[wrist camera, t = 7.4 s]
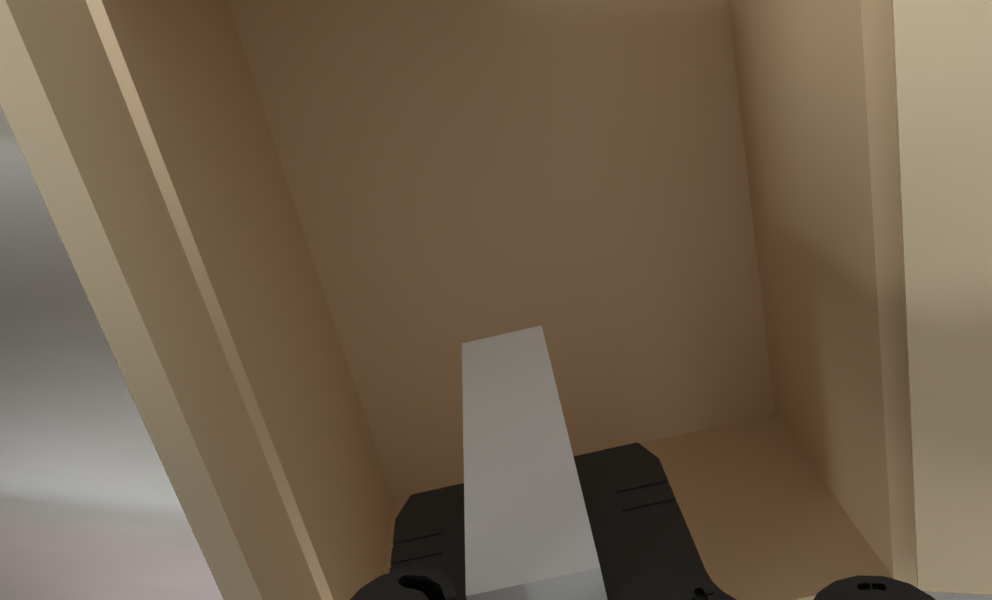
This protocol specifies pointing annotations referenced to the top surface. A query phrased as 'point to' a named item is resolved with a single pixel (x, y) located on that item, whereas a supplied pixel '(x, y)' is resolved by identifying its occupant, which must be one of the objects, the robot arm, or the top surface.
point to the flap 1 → (145, 294)
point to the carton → (550, 251)
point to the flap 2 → (947, 281)
